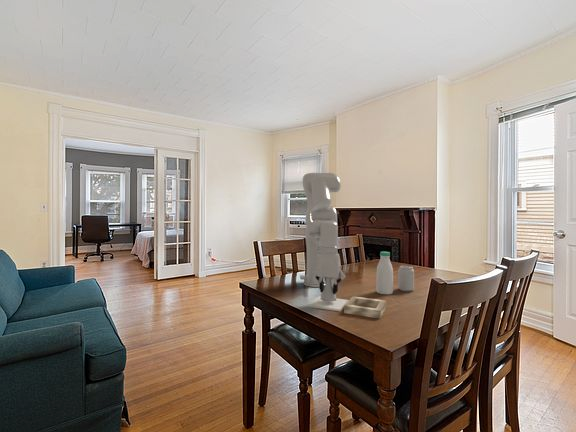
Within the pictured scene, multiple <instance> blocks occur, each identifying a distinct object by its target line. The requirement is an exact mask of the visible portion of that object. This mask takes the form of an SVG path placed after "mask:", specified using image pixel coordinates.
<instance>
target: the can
mask: <svg viewBox="0 0 576 432" xmlns="http://www.w3.org/2000/svg"><path fill="white" fill-rule="evenodd" d="M397 275H398V276H397V277H398V278H397V288H398V290H400V291H402V292H412V291H414V290H415V270H414V267H413V266H410V265H400V266H399V268H398V272H397Z"/></svg>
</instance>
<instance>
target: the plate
mask: <svg viewBox="0 0 576 432" xmlns="http://www.w3.org/2000/svg"><path fill="white" fill-rule="evenodd" d="M320 298H321V296H320V295H318V296H317V297H316V298H314V299H313V300H312V301H310V302H309V303H308V304H307V308H308V307H309V308H315V309H322V310H326V311H327V310H328V311H335V312H341V311H342V310H344V305H345V304H346V303H347V302H348V301H349V300H350V299H343V298H337V299H336V301H323V300H321V299H320Z"/></svg>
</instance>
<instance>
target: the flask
mask: <svg viewBox="0 0 576 432" xmlns="http://www.w3.org/2000/svg"><path fill="white" fill-rule="evenodd" d="M324 279H325V281H326V282H325V286H324V290H323V292H321V298H320V299H321V300H323V301H336V299H338V298H337V295H336V293H335V294H333V281H332V280H333V278H327V277H324Z"/></svg>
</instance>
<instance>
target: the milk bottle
mask: <svg viewBox="0 0 576 432" xmlns="http://www.w3.org/2000/svg"><path fill="white" fill-rule="evenodd" d="M379 256H380V259H379V261H378V263H377V265H376V266H377V267H376V275H375V276H376V277H375V278H376V281H375V282H376V283H375V284H376V288H375V289H376V293H377V294H380V295H392V294H393V293H394V292H393V291H394V270H393V269H394V268H393V265H392V263H391V259H390V257H391V252H390V251H380V253H379Z"/></svg>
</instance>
